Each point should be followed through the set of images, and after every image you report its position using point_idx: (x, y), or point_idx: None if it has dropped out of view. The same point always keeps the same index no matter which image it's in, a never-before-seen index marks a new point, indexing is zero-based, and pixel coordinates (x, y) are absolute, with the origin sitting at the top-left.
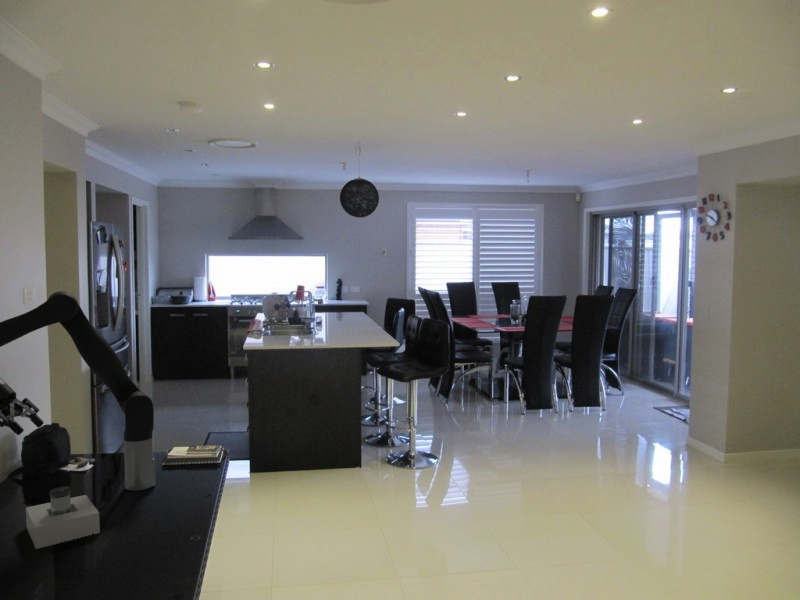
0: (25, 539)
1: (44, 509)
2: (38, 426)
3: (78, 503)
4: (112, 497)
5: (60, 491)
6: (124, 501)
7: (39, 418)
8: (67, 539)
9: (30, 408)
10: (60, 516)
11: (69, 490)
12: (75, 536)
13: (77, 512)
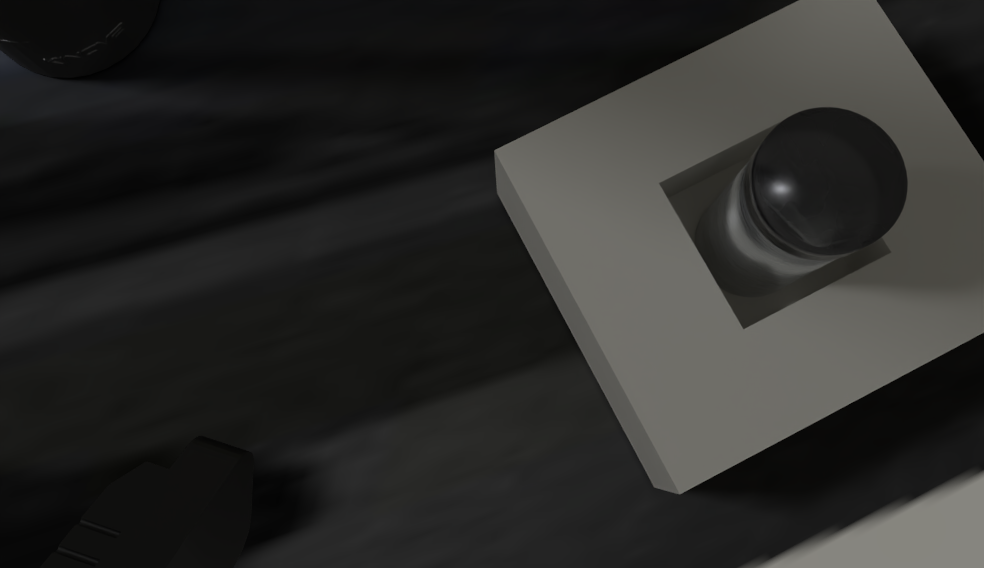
0: (826, 428)
1: (741, 342)
2: (238, 539)
3: (663, 147)
4: (232, 117)
5: (872, 161)
6: (327, 30)
7: (135, 541)
8: None
9: None
10: None
11: (828, 110)
12: None
13: (834, 103)
